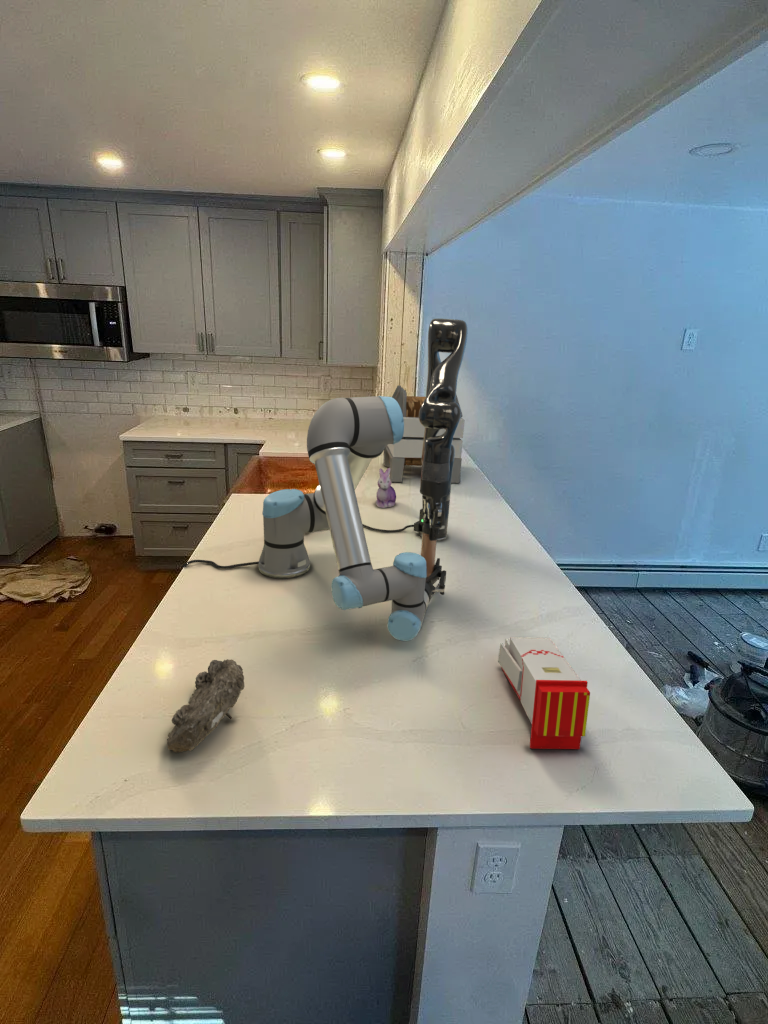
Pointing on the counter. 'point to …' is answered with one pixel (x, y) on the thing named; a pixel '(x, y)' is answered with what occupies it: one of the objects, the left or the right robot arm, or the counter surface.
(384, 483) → the figurine
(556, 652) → the toy
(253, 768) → the counter surface
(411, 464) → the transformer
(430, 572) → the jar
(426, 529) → the lid
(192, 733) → the fossil
